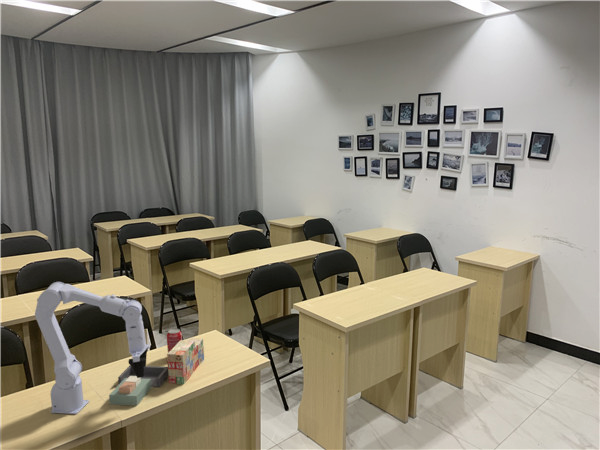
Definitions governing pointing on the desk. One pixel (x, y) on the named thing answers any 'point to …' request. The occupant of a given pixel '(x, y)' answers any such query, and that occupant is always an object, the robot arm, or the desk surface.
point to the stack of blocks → (184, 360)
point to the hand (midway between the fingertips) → (141, 371)
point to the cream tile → (134, 380)
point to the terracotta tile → (127, 387)
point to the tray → (148, 374)
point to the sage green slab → (134, 396)
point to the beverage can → (173, 338)
